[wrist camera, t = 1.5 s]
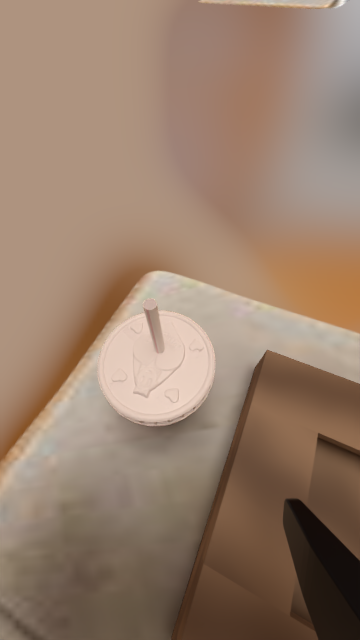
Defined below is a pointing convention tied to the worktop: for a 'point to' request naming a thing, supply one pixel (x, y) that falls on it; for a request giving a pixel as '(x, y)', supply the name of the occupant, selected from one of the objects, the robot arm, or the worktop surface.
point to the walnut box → (275, 503)
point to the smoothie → (156, 367)
